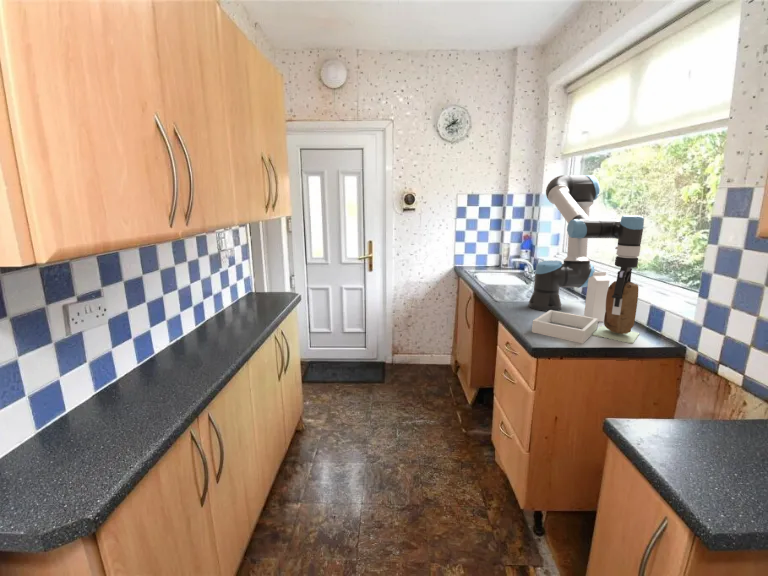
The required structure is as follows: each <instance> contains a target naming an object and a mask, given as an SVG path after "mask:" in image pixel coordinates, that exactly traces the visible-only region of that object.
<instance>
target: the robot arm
mask: <svg viewBox="0 0 768 576" xmlns="http://www.w3.org/2000/svg"><path fill="white" fill-rule="evenodd" d="M600 189H601V188H600V183H599V180H598V179H597V177H596V176H595V175H586V174H577V175H576V174H573V175H572V174H571V175H570V174H569V175H567V174H566V175H564V174H563V175H559V176H556V177H554V178H552V180H551V181H549V182H548V184H547V185H546V188H545V196H546V198H547V200H548V201H549V203H551V204H553V205H554V206H555V207H556V208H557V210H558V211H559V213H560V214H561V216H562V217H563V218H564V220H565V221H566V222H567V227H566V232H567V236H568V237H567V254H566V255H567V256H566V257H565V258H564V259H563V262H562V261H560V260H544V261H543V260H542V261H539V262H538V263H536V266H535V271H534V283H533V284H534V286H533V292H532V295H531V297H530V298H529V301H528V307H529V308H530V307H531V309H534V310H537V311H541V310H542V311H543V312H548V311H549V310H553V311H558V312H559V311H561V309H562V301H561V298H560V288H577V289H579V288H587V287H588V279H589V277H591V276H593V273H594V272H596V270H595V266H594V264H592V263H591V259H589V257H587V255H588V243H589V242H588V239H614V240H615V239H616V240H617V246H615V247H614V248H615V250H616V253H615V255H616V256H615V260H614V265H615V267H619V268H620V269H619V271H617V273H616V275H617V277H616V280H615V281H616V285H615V290H614V295H613V296H612V298H614V302H613V309H612V314H615V315H620V312H621V305H622V295H623V290H624V286H625V284H626V283H627V282H632V271H633V268H634V269H635V268H637V267H638V264H639V256H640V254H641V253H640V252H641V245H642V238H643V232H644V228H645V224H644V223H645V217H644V216H642V215H623V216H622V217H621V218H620V219H617V218H608V219H590V208H591V207H592V205H593V204H594V201H595V200H597V199H598V197H599V195H600V192H601V191H600ZM617 294H619V295H617Z"/></svg>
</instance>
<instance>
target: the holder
mask: <svg viewBox="0 0 768 576" xmlns="http://www.w3.org/2000/svg"><path fill="white" fill-rule="evenodd" d="M531 326H532V327H531V333H535V334H539V335H544V336H548V337H552V338H556V339H561V340H565V341H570V342H575V343H578V344H584V343H585V342H586V341H587V340H588V339H589V338H590V337H591V336H593V335H592V334H593V333H594V332H595V331H596V330H597V329H598V319H597V318H591V317H586V316H584V315H579V314H573V313H568V312H562V311H559V310H558V311H553V310H549V311H545V312H544V313H543V314H541V315H540V316H538V317H536V318H534V319H533V320H532V325H531ZM580 328H581V329H580Z"/></svg>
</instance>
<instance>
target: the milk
mask: <svg viewBox="0 0 768 576" xmlns="http://www.w3.org/2000/svg"><path fill="white" fill-rule="evenodd" d="M609 286H610V279H609V278H608V276H607V272H606V271H595V272H594V273H593V276H591V277H589V279H588V286H587V287H586V288H587V289H586V295H585V306H584V311H583V312H584V313H583V316H586V317H591V318H597V319H598V322H601V323H602V322H603V323H604V316H605V312H606V296H607V291H608V288H609Z"/></svg>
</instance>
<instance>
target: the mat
mask: <svg viewBox="0 0 768 576" xmlns="http://www.w3.org/2000/svg"><path fill="white" fill-rule="evenodd" d="M591 336H593V337H597V336H598V337H599V338H602V337H604V338H603V339H607V338H609V339H608V340H612V339H614V340H613V341H617V340H618V342H621V341H622V343H626V342H627V343H626V344H634V343H635V341H636V340H637V339H638V337H639V336H640V332H636V331H632V330H631V331H630V332H629V333H627V334H620V333H619V334H618V333H615V332H612V331H610V330H609V329H607V328H606V327H605V325H600V326H599V327H597V330H596V331H595V332H594V333H593V334H592V335H591Z"/></svg>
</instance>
